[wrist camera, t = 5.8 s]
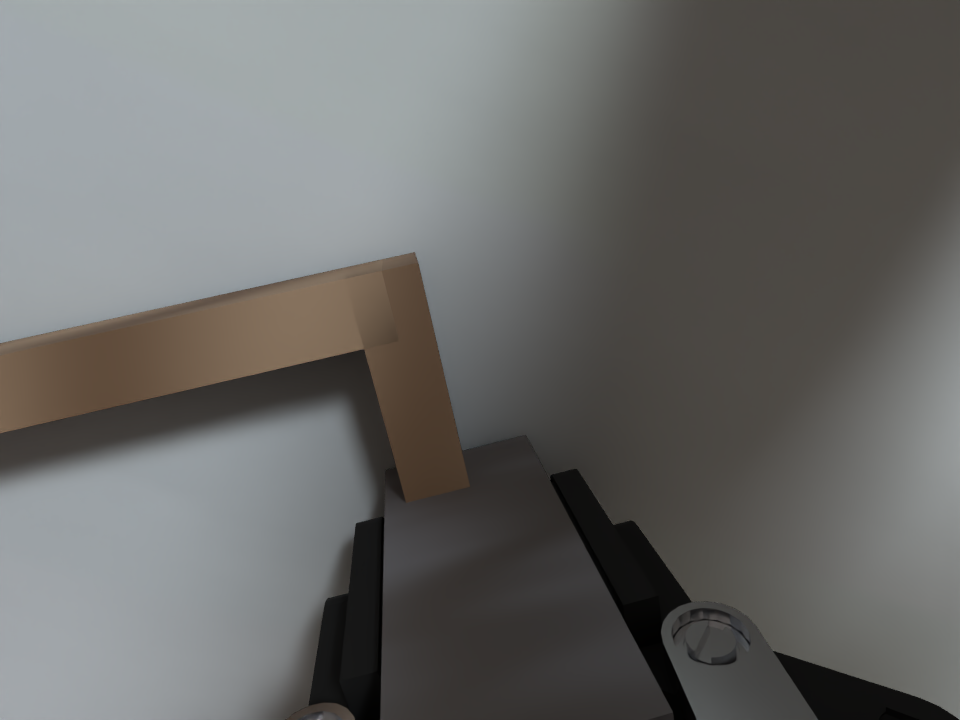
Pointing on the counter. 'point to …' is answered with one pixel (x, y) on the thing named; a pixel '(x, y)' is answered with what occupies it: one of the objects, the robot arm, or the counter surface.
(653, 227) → the counter surface
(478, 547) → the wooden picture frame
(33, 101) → the counter surface
